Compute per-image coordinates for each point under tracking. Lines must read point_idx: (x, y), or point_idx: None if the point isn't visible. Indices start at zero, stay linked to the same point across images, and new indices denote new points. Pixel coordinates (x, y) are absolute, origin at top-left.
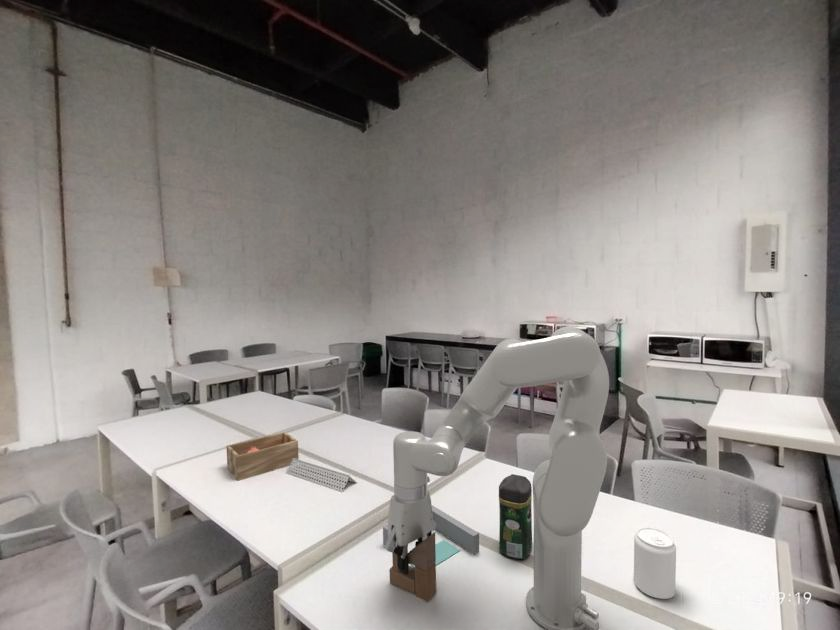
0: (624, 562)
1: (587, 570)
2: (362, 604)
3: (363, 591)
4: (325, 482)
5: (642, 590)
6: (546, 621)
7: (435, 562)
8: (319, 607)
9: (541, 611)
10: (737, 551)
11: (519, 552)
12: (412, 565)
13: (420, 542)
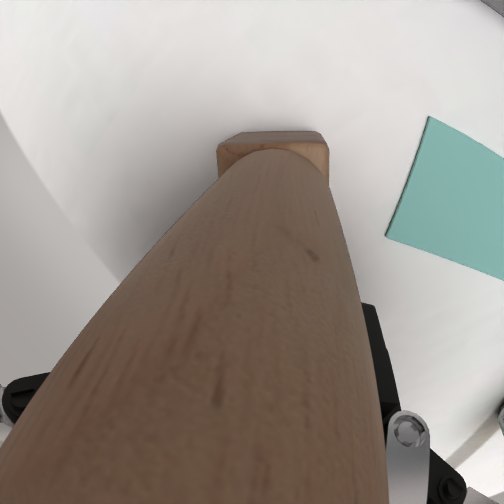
0: (487, 470)
1: (472, 463)
2: (83, 128)
3: (127, 71)
4: None
5: None
6: None
7: (469, 253)
8: (13, 40)
9: None
10: (498, 488)
11: (502, 428)
12: (415, 165)
13: None
